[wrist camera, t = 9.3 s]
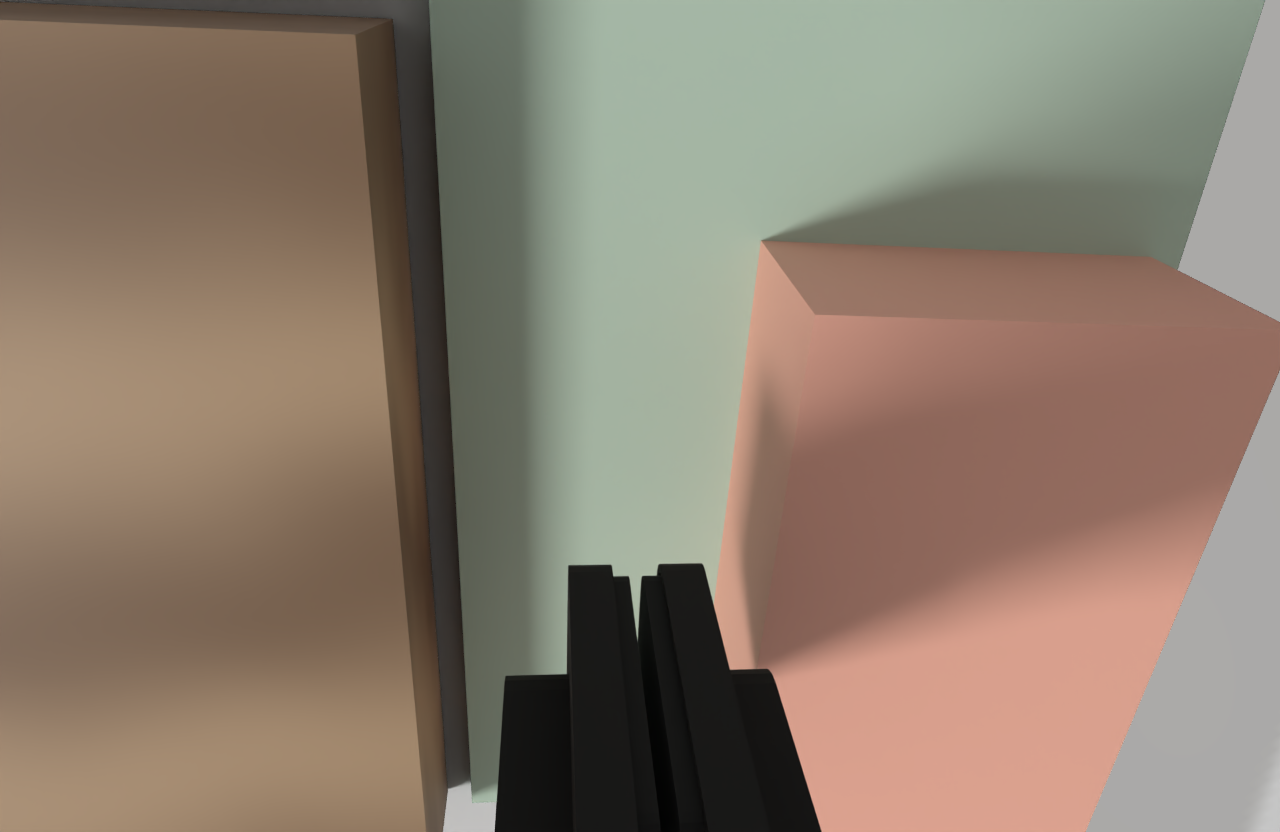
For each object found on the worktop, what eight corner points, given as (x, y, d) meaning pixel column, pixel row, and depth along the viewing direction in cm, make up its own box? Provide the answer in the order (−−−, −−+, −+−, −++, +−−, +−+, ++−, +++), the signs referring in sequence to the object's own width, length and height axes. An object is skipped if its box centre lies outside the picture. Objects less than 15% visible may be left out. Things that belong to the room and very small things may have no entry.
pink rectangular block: (1296, 330, 11) (1151, 256, 14) (814, 314, 10) (760, 240, 13) (1083, 836, 15) (1003, 703, 18) (728, 847, 14) (700, 708, 17)
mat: (427, -69, 11) (424, -69, 11) (1257, -24, 12) (1272, -23, 12) (473, 790, 18) (472, 803, 18) (1004, 770, 19) (1010, 781, 19)
